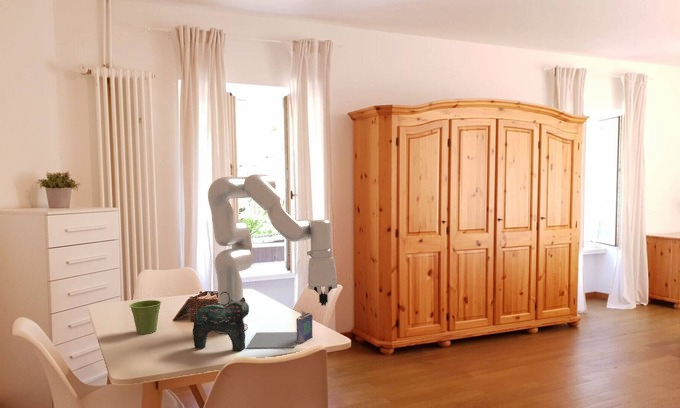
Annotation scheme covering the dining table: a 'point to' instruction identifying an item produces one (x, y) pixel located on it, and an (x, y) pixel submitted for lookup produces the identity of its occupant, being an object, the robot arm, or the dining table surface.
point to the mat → (273, 340)
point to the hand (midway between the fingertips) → (323, 304)
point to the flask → (304, 327)
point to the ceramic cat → (221, 322)
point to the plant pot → (146, 315)
